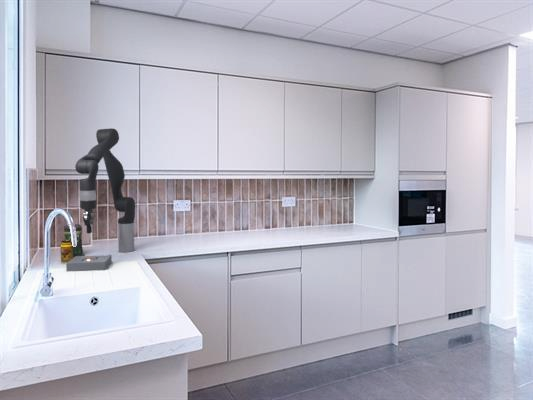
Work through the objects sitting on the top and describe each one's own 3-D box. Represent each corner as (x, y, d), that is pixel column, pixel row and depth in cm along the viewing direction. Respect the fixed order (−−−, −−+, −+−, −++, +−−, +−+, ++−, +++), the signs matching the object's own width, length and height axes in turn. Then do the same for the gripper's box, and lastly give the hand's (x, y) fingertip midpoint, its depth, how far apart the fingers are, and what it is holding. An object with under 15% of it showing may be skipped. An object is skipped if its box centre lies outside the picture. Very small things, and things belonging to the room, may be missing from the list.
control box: (75, 263, 211) (75, 256, 211) (111, 262, 214) (111, 255, 214) (66, 271, 195) (66, 263, 195) (105, 269, 199) (105, 262, 198)
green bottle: (81, 254, 234) (80, 223, 232) (84, 256, 227) (83, 224, 226) (63, 256, 228) (62, 224, 227) (65, 259, 222) (64, 226, 220)
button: (85, 264, 207) (85, 257, 207) (97, 263, 208) (97, 256, 208) (82, 267, 201) (82, 259, 201) (94, 266, 202) (94, 259, 202)
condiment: (61, 264, 210) (60, 241, 209) (58, 261, 217) (57, 239, 216) (76, 262, 215) (75, 240, 214) (72, 259, 221) (72, 237, 221)
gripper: (83, 198, 208) (84, 231, 209) (76, 200, 195) (77, 235, 196) (99, 198, 209) (100, 230, 211) (92, 200, 196) (94, 235, 198)
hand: (89, 233), depth 204 cm, fingers closed
